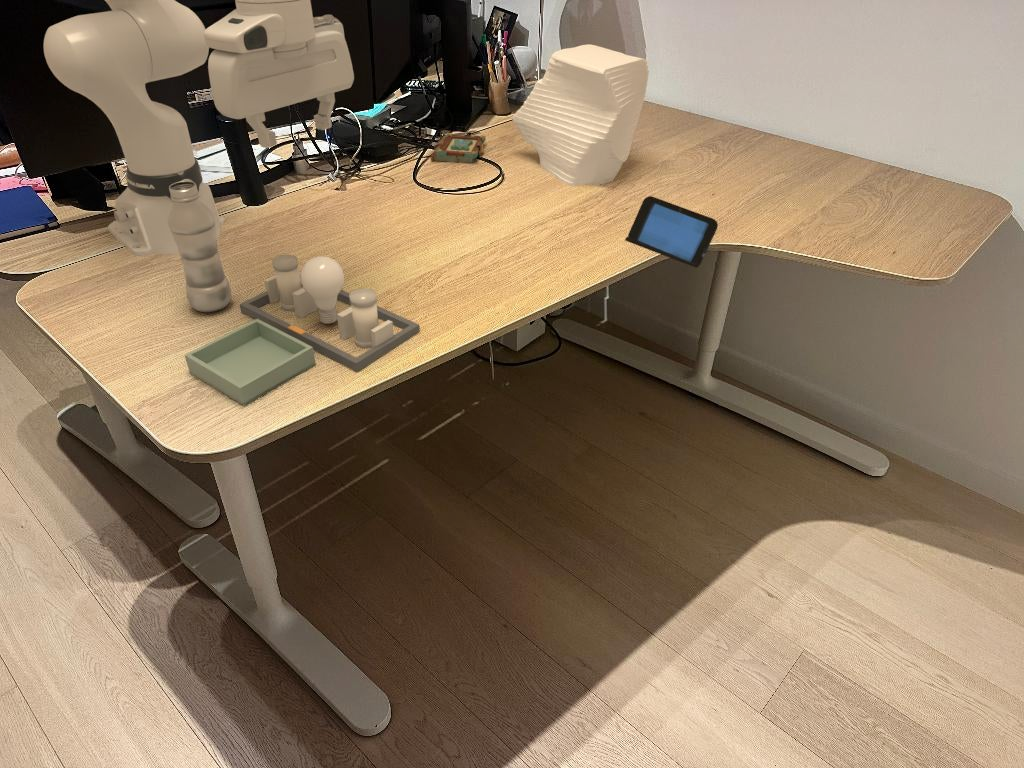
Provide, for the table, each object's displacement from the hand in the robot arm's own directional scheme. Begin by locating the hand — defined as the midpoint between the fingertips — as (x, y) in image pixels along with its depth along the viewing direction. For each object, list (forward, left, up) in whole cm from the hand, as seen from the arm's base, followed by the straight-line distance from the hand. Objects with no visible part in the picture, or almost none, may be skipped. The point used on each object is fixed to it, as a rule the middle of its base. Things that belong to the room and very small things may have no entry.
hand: (297, 137), depth 100 cm
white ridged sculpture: (-2, +77, -28) cm, 82 cm away
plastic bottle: (-16, -9, -28) cm, 34 cm away
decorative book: (-27, +66, -29) cm, 76 cm away
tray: (+3, -16, -28) cm, 32 cm away
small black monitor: (+32, +49, -29) cm, 65 cm away
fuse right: (+10, -1, -28) cm, 30 cm away
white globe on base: (-7, -1, -28) cm, 29 cm away
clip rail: (+2, -1, -28) cm, 28 cm away
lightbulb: (+2, -1, -28) cm, 28 cm away
